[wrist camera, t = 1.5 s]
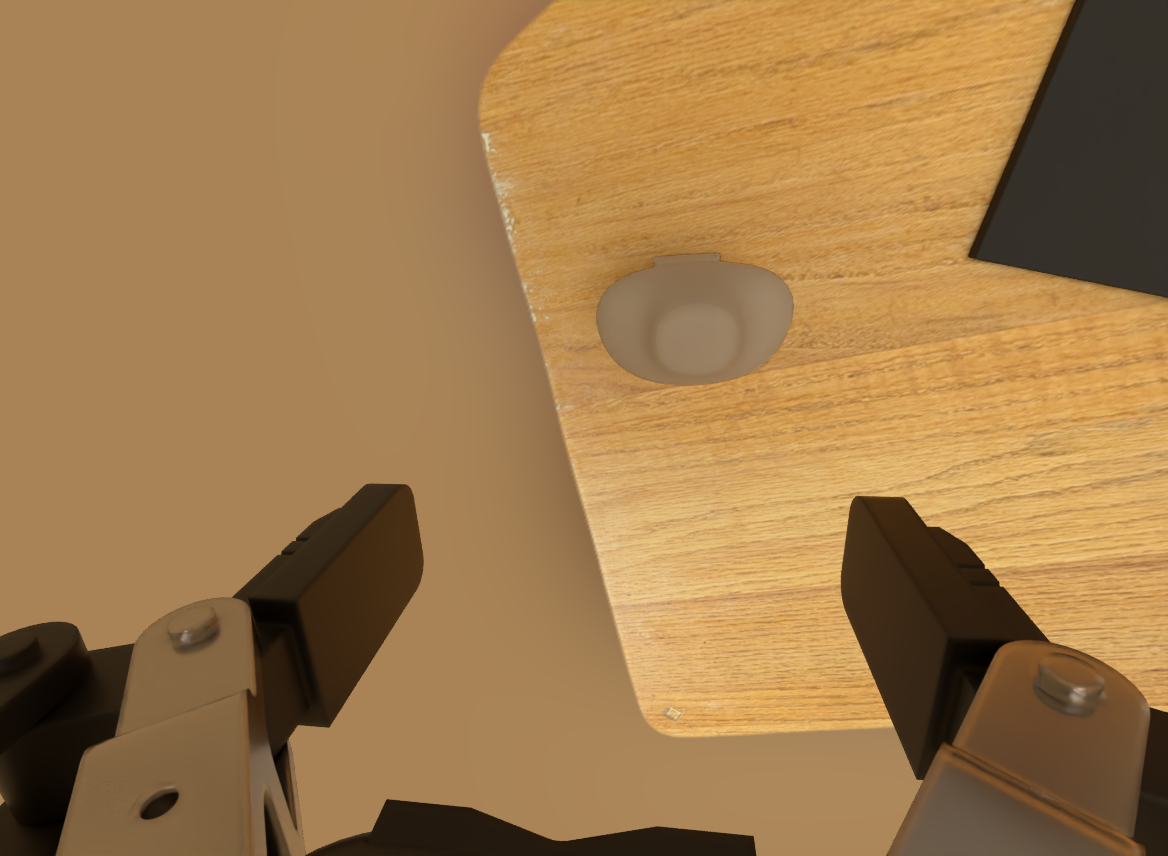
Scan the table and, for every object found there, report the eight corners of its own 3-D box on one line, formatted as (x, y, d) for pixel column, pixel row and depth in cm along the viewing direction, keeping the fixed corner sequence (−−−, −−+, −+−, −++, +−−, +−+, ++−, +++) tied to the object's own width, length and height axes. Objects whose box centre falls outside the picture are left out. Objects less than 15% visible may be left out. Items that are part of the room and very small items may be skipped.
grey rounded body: (617, 349, 32) (590, 432, 21) (611, 248, 30) (579, 281, 19) (759, 344, 31) (809, 428, 20) (763, 238, 29) (820, 267, 18)
